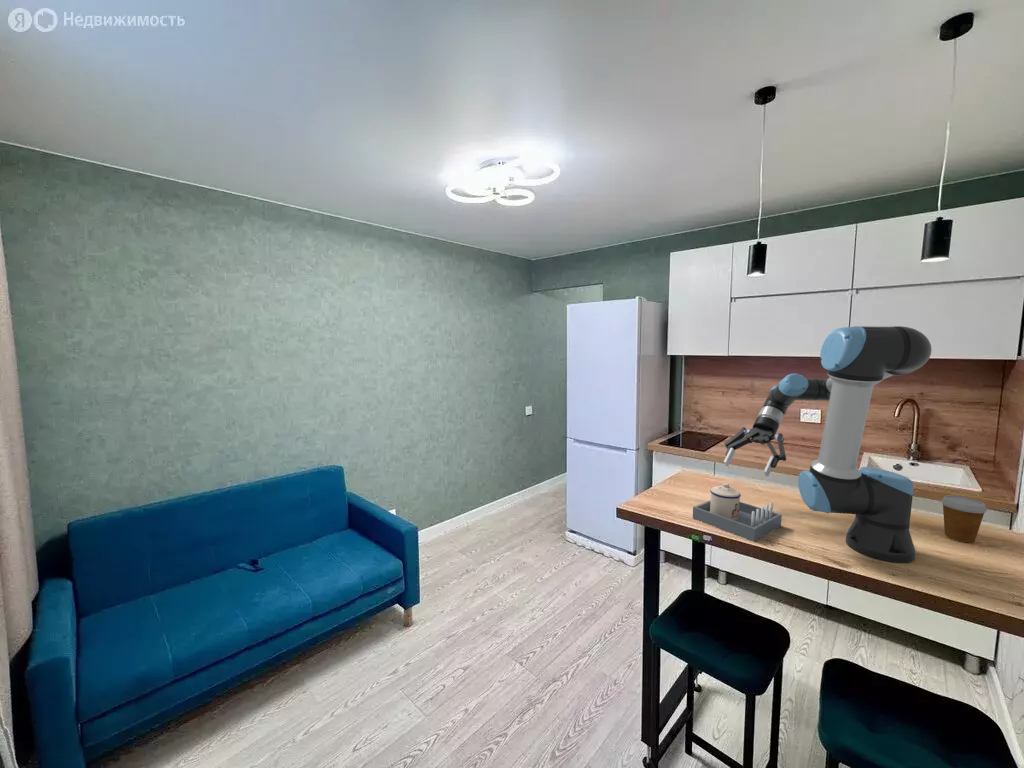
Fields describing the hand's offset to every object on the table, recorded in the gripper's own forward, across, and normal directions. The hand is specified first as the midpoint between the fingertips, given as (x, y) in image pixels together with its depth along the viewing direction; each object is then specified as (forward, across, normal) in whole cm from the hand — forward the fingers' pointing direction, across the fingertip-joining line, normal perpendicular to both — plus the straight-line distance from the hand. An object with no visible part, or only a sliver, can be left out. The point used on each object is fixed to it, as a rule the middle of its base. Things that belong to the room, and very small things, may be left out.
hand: (745, 469), depth 145 cm
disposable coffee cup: (-13, -48, -36) cm, 61 cm away
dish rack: (+18, -3, -4) cm, 19 cm away
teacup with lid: (+18, +1, -3) cm, 18 cm away
